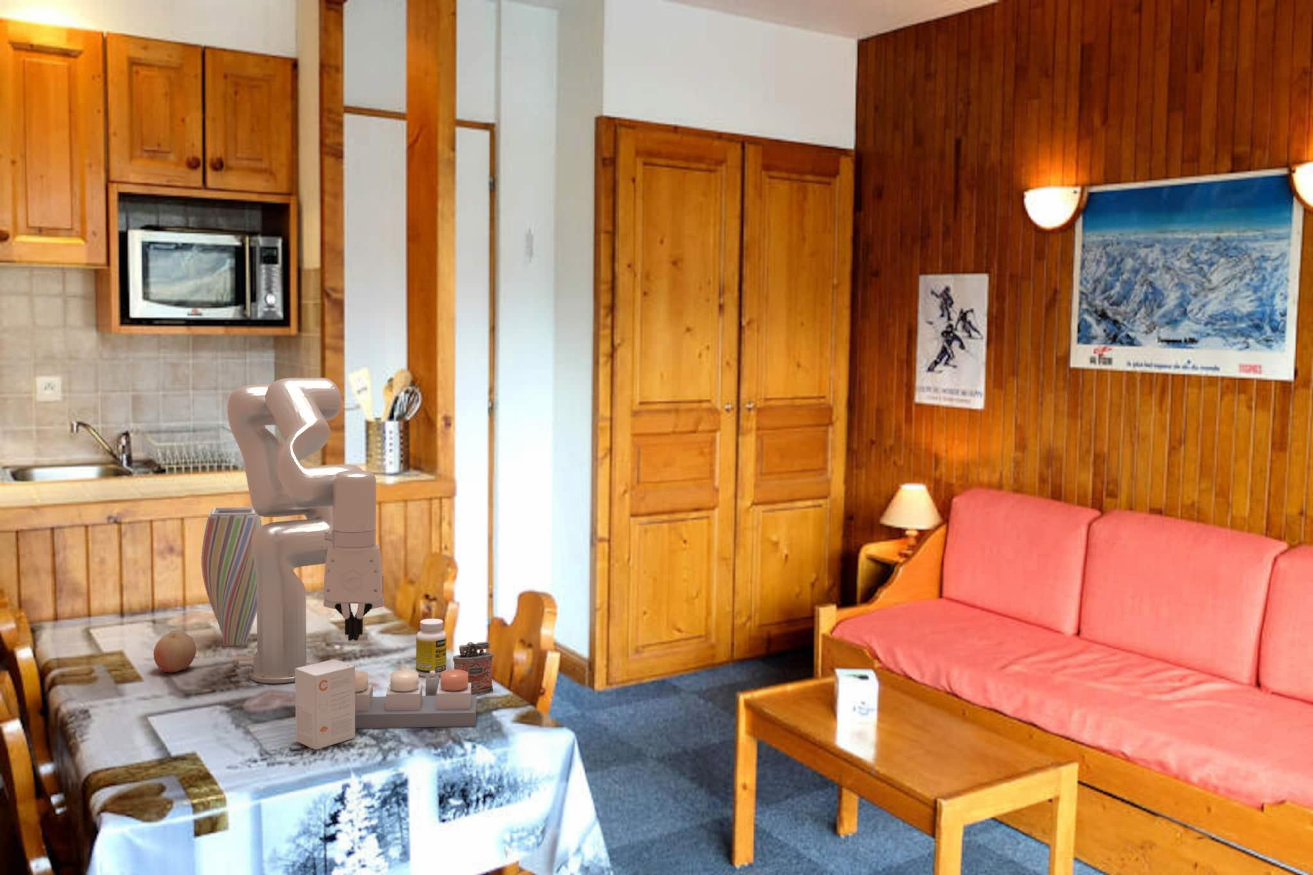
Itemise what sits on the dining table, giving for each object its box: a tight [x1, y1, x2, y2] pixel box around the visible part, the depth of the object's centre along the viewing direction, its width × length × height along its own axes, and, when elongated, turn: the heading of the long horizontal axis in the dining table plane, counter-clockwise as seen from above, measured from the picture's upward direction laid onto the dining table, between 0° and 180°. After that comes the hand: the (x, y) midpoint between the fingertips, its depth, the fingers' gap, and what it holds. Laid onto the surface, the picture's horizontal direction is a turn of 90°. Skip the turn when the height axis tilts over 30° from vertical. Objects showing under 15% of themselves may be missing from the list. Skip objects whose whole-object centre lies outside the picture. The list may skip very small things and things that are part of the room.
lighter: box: [452, 641, 494, 696], centre depth 225 cm, size 8×3×10 cm, turn 117°
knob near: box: [355, 670, 369, 692], centre depth 208 cm, size 5×5×5 cm
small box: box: [294, 658, 356, 751], centre depth 197 cm, size 8×6×13 cm
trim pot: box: [424, 670, 440, 696], centre depth 218 cm, size 3×3×6 cm
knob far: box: [439, 669, 468, 691], centre depth 210 cm, size 5×5×5 cm
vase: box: [200, 506, 263, 647], centre depth 254 cm, size 14×14×30 cm
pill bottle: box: [415, 618, 448, 678], centre depth 236 cm, size 6×6×11 cm
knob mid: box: [389, 669, 419, 692], centre depth 209 cm, size 5×5×5 cm
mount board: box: [355, 682, 478, 729], centre depth 209 cm, size 26×10×6 cm, turn 97°
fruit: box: [153, 630, 197, 674], centre depth 234 cm, size 8×8×8 cm
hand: (353, 638), depth 207 cm, fingers closed
